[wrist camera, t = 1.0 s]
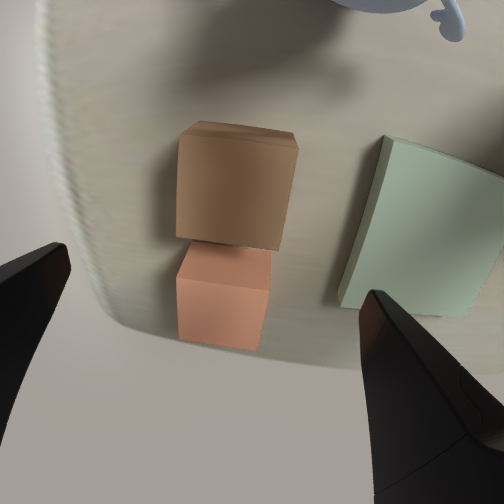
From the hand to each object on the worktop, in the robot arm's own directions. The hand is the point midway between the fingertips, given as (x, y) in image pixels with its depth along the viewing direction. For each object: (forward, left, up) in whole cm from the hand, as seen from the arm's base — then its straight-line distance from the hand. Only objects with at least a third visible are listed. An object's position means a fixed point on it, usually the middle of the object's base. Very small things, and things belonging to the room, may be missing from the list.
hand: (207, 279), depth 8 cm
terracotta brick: (0, +8, -10) cm, 13 cm away
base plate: (-13, +2, -10) cm, 16 cm away
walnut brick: (0, 0, -10) cm, 10 cm away
